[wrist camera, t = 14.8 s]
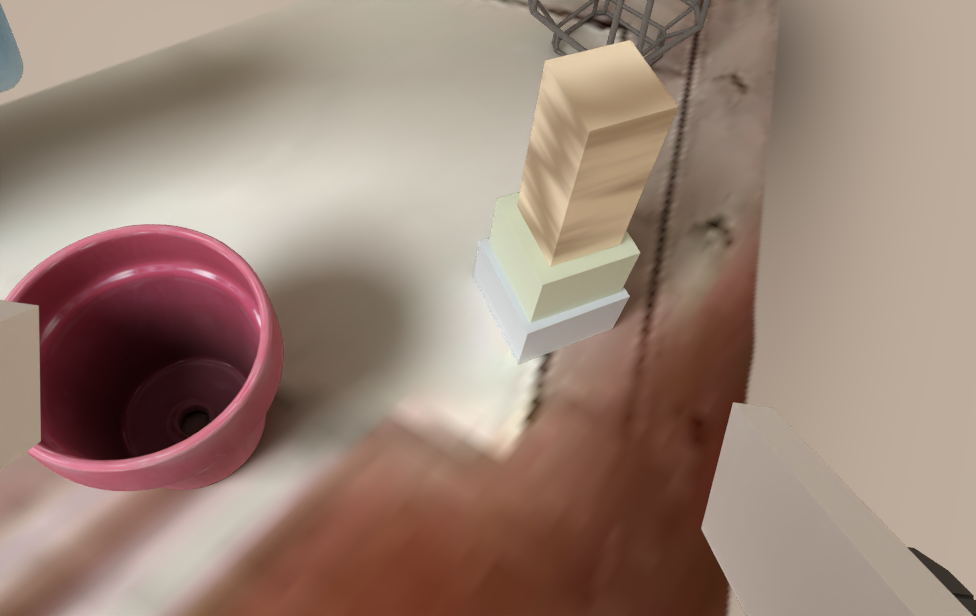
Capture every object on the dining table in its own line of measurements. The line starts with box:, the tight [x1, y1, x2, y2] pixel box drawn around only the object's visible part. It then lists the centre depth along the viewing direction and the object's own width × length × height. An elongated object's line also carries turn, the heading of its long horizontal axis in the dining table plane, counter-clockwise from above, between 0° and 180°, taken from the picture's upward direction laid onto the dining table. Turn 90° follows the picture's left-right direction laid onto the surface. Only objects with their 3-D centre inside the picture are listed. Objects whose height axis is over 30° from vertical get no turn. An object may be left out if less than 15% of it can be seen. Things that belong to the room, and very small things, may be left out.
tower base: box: [473, 237, 630, 364], centre depth 53 cm, size 8×8×5 cm
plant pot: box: [5, 224, 283, 491], centre depth 42 cm, size 14×14×13 cm
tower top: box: [489, 192, 640, 323], centre depth 49 cm, size 7×7×5 cm
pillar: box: [517, 40, 679, 267], centre depth 41 cm, size 5×5×12 cm
